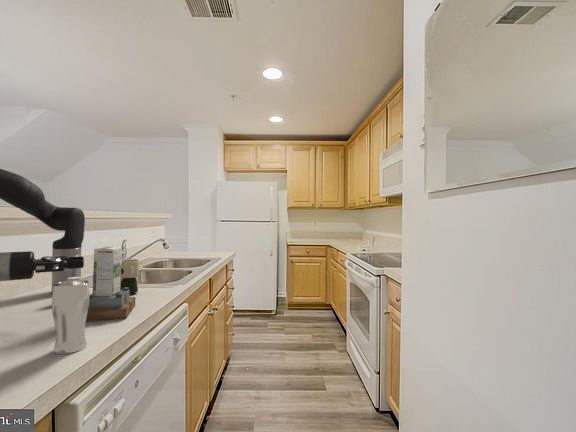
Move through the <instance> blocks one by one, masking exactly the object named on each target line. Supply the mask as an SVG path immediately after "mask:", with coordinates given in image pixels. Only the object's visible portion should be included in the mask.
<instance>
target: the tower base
mask: <svg viewBox="0 0 576 432" xmlns="http://www.w3.org/2000/svg"><path fill="white" fill-rule="evenodd" d="M129 294H130V295H131V293H130V290H129V288H128V287H124V288H122V290H121V291H120V292H119V293H117V294H115V295H113V296H98V297H94V296H93V292H91V293H90V301H89V310H88V315H87V319H86V323H87V322H90V323H91V322H100V321H114V320H126V319H127V318H128V317H129V316H130V314H131V313H132V311H133V310H134V308H135V307H136V296H131V297H130V295H129Z"/></svg>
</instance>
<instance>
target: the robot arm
mask: <svg viewBox="0 0 576 432" xmlns="http://www.w3.org/2000/svg"><path fill="white" fill-rule="evenodd" d="M0 199H1V200H2V201H4V202H5V203H7V204H9V205H11V206H13V207H15V208H17V209H19V210H21V211H23V212H25V213H27V214H29V215H31V216H32V217H35V218H36V219H38V220H39V221H41V222H42V223H43V224H44V225H46V226H47V227H49V228H50V229H53V230H55V231H61V232H64V234H63V236H62V237H60V238H59V239H55V240H54V241H52V246H51V247H52V248H51V250H52V254H51V256H48V255H46V256H41V257H40V258H38V259H37V258H35V253H34V251H32V250H31V251H30V250H29V251H13V252H12V251H6V252H0V282H6V281H7V282H8V281H17V280H18V281H21V280H31V279H33V277H34V273H36V274H41V273H51V294H52V295H53V287H54V286H53V285H54V284H56V283H59V282H64V281H67V278H70V277H81V278H82V269H83V268H84V266H85V265H84V263H85V259H84V256H82V246H83V245H82V244H83V241H84V238H85V236H84V235H85V223H86V217H85V214H84V212H83V210H82V209H81V208H79V207H60V206H56V205H55V204H52V203H50V202H49V201H47V200H46V197H45V194H44V192H43V190H42V188H41V187H39V186H38V185H36V184H35V183H33V182H32V181H31V180H29V179H27V178H26V177H24V176H22V175H19V174H18V173H15V172H11V171H9V170H6V169H3V168H0Z"/></svg>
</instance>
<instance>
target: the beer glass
mask: <svg viewBox="0 0 576 432" xmlns="http://www.w3.org/2000/svg"><path fill="white" fill-rule="evenodd" d="M53 286H54V287H53V294H52V297H51V298H52V299H51V311H52V312H51V313H52V317H53V323H54V328H55V341H54V347H53V354H55V355H68V354H74V353H77V352H79V351H82V350H83V349H85V348H86V347H87V340H86V334H85V332H86V331H85V330H86V324H87V322H86V319H87V315H88V310H89V301H90V295H91V293H90V282H89V280H85V279H81V280H71V281H64V282H59V283H56V284H54V285H53Z"/></svg>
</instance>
